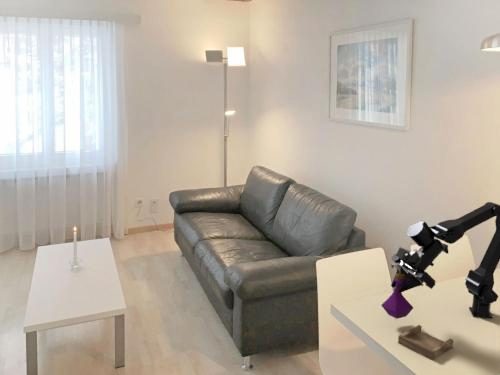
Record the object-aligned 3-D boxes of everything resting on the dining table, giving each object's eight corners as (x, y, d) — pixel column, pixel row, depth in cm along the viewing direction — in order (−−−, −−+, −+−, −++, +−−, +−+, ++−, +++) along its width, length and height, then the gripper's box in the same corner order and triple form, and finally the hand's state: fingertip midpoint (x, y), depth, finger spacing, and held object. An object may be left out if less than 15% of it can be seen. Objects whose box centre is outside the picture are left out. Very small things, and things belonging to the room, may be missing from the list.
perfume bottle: (413, 317, 162) (413, 264, 160) (396, 321, 159) (395, 268, 157) (398, 309, 169) (397, 259, 167) (381, 314, 166) (380, 262, 164)
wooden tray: (418, 331, 160) (418, 324, 160) (452, 347, 151) (453, 340, 150) (398, 343, 154) (398, 335, 153) (432, 359, 144) (433, 352, 144)
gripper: (397, 231, 168) (366, 264, 167) (429, 249, 150) (395, 286, 150) (416, 250, 171) (386, 283, 171) (449, 270, 154) (416, 307, 153)
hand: (395, 289), depth 161 cm, fingers closed on perfume bottle, 4 cm apart
